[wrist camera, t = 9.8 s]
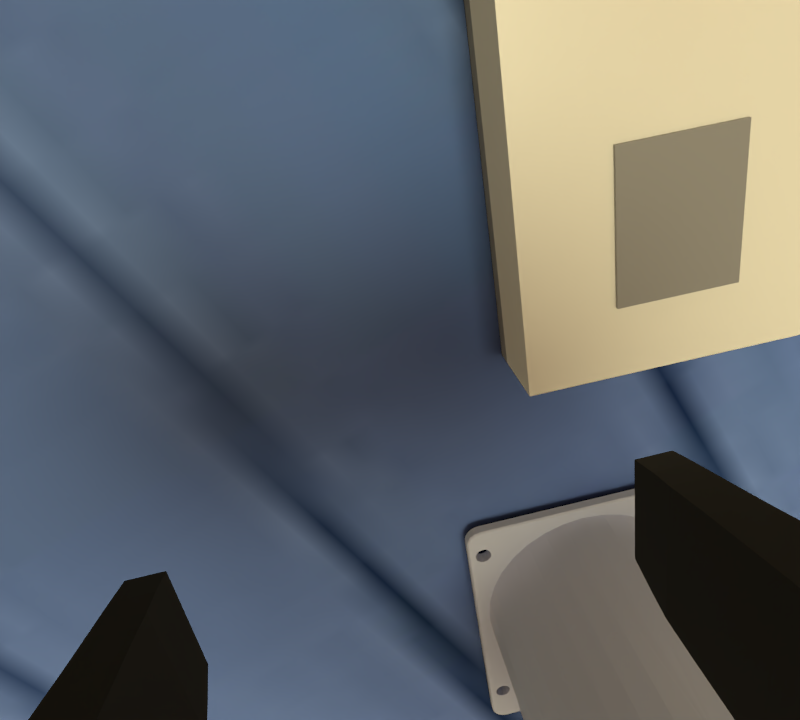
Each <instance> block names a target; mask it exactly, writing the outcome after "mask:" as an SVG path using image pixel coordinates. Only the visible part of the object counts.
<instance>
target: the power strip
mask: <svg viewBox="0 0 800 720" xmlns="http://www.w3.org/2000/svg"><path fill="white" fill-rule="evenodd" d="M464 5H465V15H466V24H467V33H468V43H469V52H470V61H471V71H472V80H473V89H474V99H475V108H476V117H477V127H478V136H479V145H480V155H481V164H482V173H483V182H484V192H485V201H486V210H487V220H488V229H489V238H490V248H491V257H492V266H493V276H494V285H495V294H496V304H497V313H498V322H499V332H500V341H501V350H502V356H503V357H504V359H505V360H506V362H507V363H508V365H509V366H510V368H511V369H512V371H513V372H514V374H515V375H516V377H517V378H518V380H519V381H520V383H521V384H522V386H523V387H524V389H525V390H526V392H527V393H528V395H529V396H534V395H538V394H543V393H547V392H551V391H556V390H560V389H564V388H569V387H573V386H578V385H582V384H586V383H591V382H595V381H599V380H604V379H608V378H612V377H617V376H621V375H626V374H630V373H634V372H639V371H643V370H647V369H652V368H656V367H660V366H665V365H669V364H674V363H678V362H682V361H687V360H691V359H695V358H700V357H704V356H708V355H713V354H717V353H722V352H726V351H730V350H735V349H739V348H743V347H748V346H752V345H756V344H761V343H765V342H770V341H774V340H778V339H783V338H787V337H791V336H796V335H800V0H464Z"/></svg>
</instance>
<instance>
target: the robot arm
mask: <svg viewBox="0 0 800 720" xmlns="http://www.w3.org/2000/svg"><path fill="white" fill-rule="evenodd" d="M465 545H466V552H467V558H468V564H469V570H470V577H471V583H472V589H473V595H474V602H475V608H476V614H477V620H478V627H479V633H480V639H481V645H482V652H483V658H484V664H485V670H486V676H487V683H488V689H489V695H490V701H491V705H492V708H493V711H494V712H495V713H497V714H500V715H506V714H510V713H514V712H518V711H521V714H522V717H523V720H800V520H798V519H796V518H794V517H792V516H790V515H789V514H787V513H785V512H783V511H781V510H779V509H777V508H776V507H774V506H772V505H770V504H768V503H766V502H765V501H763V500H761V499H759V498H757V497H755V496H754V495H752V494H750V493H748V492H747V491H745V490H743V489H741V488H739V487H738V486H736V485H734V484H732V483H730V482H729V481H727V480H725V479H723V478H721V477H720V476H718V475H716V474H714V473H713V472H711V471H709V470H707V469H705V468H704V467H702V466H700V465H698V464H696V463H695V462H693V461H691V460H689V459H687V458H686V457H684V456H682V455H680V454H678V453H676V452H674V451H669V452H665V453H661V454H657V455H652V456H648V457H644V458H640V459H636V460H635V489H631V490H627V491H623V492H618V493H614V494H610V495H606V496H602V497H598V498H594V499H589V500H585V501H581V502H577V503H573V504H569V505H564V506H560V507H556V508H552V509H548V510H544V511H540V512H535V513H531V514H527V515H523V516H519V517H515V518H510V519H506V520H502V521H498V522H494V523H490V524H485V525H481V526H477V527H475V528H472V529H471V530H470V531H469V532H468V533H467V534H466V536H465ZM482 550H486V551H485V552H484V553H482V554H477V553H478V552H479V551H482ZM207 703H208V663H207V661H206V659H205V657H204V654H203V652H202V650H201V648H200V646H199V643H198V641H197V639H196V637H195V634H194V632H193V630H192V628H191V626H190V623H189V621H188V619H187V617H186V614H185V612H184V610H183V608H182V606H181V603H180V601H179V599H178V597H177V594H176V592H175V590H174V588H173V586H172V583H171V581H170V579H169V577H168V574H167V572H166V571H165V572H160V573H156V574H152V575H148V576H144V577H139V578H135V579H131V580H127V581H124V583H123V584H122V585H121V587H120V588H119V590H118V591H117V592H116V594H115V595H114V597H113V598H112V600H111V601H110V603H109V604H108V605H107V607H106V608H105V610H104V611H103V613H102V614H101V616H100V617H99V619H98V620H97V622H96V623H95V624H94V626H93V627H92V629H91V630H90V632H89V633H88V635H87V636H86V638H85V639H84V641H83V642H82V644H81V645H80V647H79V648H78V649H77V651H76V652H75V654H74V655H73V657H72V658H71V660H70V661H69V663H68V664H67V666H66V667H65V668H64V670H63V671H62V673H61V674H60V676H59V677H58V678H57V680H56V681H55V683H54V684H53V686H52V687H51V688H50V690H49V691H48V693H47V694H46V695H45V697H44V698H43V700H42V701H41V702H40V704H39V705H38V707H37V708H36V710H35V711H34V712H33V714H32V715H31V717H30V718H29V719H28V720H207Z"/></svg>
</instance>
